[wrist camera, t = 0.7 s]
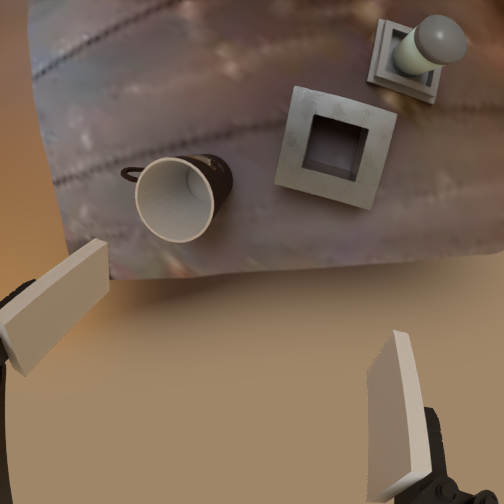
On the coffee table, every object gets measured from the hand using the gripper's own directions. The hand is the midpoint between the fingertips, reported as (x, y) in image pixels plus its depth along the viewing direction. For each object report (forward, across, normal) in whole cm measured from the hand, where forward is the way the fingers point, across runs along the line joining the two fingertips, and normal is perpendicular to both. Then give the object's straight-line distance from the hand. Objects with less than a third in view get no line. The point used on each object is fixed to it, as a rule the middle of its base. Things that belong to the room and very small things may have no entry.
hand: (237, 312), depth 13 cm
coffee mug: (+26, -12, -2) cm, 29 cm away
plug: (+25, +9, +17) cm, 32 cm away
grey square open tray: (+26, +9, +17) cm, 33 cm away
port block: (+26, +3, +5) cm, 27 cm away
